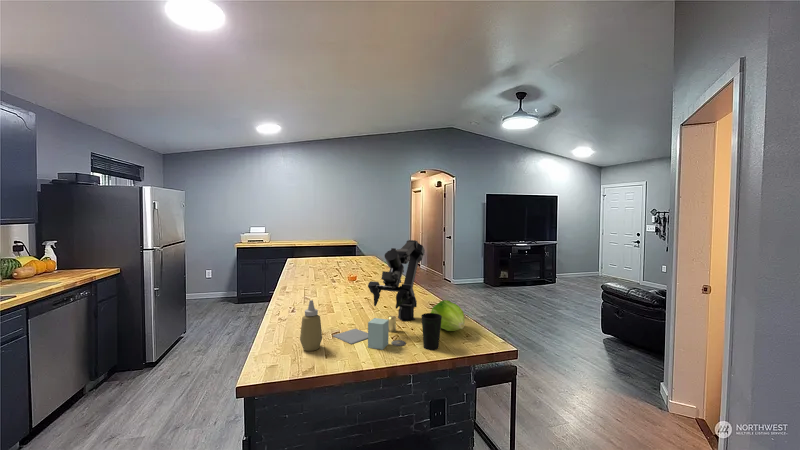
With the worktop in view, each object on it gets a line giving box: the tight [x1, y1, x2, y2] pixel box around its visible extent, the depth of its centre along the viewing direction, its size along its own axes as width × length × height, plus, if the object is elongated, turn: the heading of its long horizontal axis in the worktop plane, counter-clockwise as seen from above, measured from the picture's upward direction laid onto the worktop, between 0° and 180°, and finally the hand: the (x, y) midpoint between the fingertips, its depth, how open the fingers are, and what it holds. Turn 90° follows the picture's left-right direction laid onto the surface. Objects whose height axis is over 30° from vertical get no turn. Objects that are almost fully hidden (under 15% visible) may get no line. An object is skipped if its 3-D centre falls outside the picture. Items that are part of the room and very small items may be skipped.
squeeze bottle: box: [299, 299, 323, 352], centre depth 128 cm, size 8×8×18 cm
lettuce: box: [430, 299, 465, 332], centre depth 148 cm, size 14×20×12 cm
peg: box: [387, 315, 397, 333], centre depth 148 cm, size 3×3×6 cm
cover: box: [367, 317, 390, 350], centre depth 131 cm, size 6×6×10 cm
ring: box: [390, 339, 407, 347], centre depth 134 cm, size 6×6×1 cm
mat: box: [332, 328, 368, 345], centre depth 141 cm, size 12×12×1 cm
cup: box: [420, 312, 442, 351], centre depth 130 cm, size 8×8×12 cm
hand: (385, 306), depth 138 cm, fingers open, 9 cm apart
